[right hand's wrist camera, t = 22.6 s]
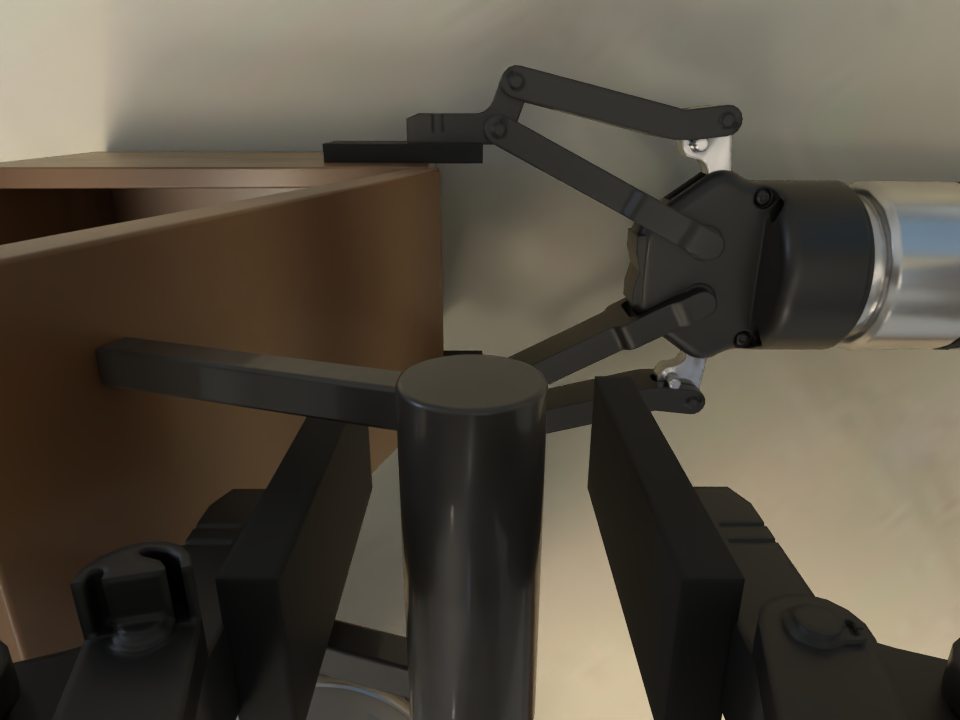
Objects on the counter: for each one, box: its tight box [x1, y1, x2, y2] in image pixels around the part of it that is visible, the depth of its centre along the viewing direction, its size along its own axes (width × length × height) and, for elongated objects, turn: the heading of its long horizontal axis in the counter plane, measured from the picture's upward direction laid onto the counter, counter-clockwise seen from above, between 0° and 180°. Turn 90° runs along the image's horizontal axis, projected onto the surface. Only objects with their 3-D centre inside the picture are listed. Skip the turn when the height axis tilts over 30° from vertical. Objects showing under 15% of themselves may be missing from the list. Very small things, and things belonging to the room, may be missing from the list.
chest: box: [0, 152, 435, 245], centre depth 31 cm, size 17×9×10 cm, turn 90°
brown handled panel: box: [0, 168, 548, 720], centre depth 17 cm, size 18×9×9 cm
